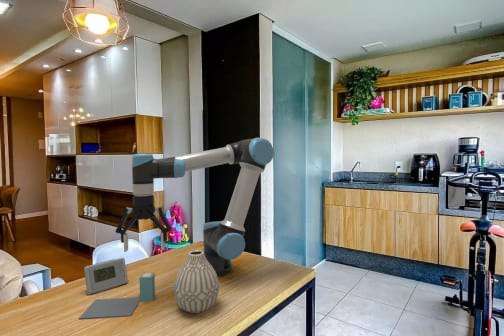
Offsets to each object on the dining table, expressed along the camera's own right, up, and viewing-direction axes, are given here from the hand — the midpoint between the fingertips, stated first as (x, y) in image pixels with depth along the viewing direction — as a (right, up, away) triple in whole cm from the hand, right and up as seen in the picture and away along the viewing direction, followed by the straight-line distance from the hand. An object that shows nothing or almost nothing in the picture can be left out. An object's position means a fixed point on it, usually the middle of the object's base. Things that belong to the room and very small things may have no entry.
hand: (144, 250), depth 113 cm
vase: (+21, -19, -6) cm, 29 cm away
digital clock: (-20, -19, +11) cm, 29 cm away
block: (+1, -19, +1) cm, 19 cm away
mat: (-9, -19, -6) cm, 22 cm away
